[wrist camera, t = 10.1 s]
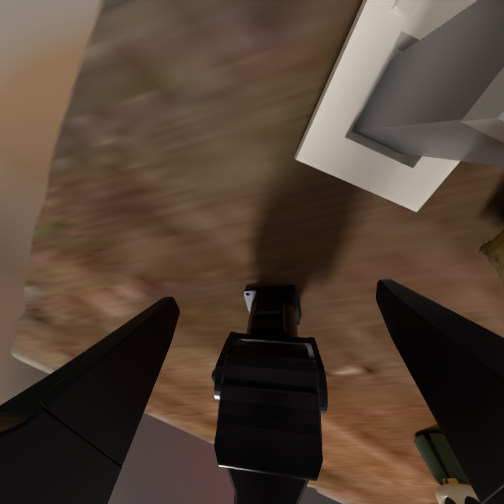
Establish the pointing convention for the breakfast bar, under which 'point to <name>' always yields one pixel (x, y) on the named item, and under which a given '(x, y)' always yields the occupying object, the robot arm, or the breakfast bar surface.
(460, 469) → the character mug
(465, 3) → the socket
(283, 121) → the breakfast bar surface
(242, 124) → the breakfast bar surface
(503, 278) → the potato
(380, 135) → the grey tall block
